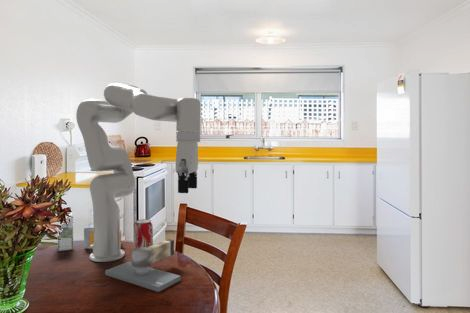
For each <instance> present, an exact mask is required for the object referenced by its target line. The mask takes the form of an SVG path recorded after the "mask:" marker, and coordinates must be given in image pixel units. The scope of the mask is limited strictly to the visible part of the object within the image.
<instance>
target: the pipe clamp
mask: <svg viewBox="0 0 470 313" xmlns="http://www.w3.org/2000/svg"><path fill="white" fill-rule="evenodd" d="M93 243H94V233H90V245H92V244H93ZM120 247H122V230H121V229H120ZM90 250H92V249H91V248H90Z"/></svg>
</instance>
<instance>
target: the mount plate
mask: <svg viewBox="0 0 470 313" xmlns="http://www.w3.org/2000/svg"><path fill="white" fill-rule="evenodd" d="M104 274H105V276H106V277H107V276H108V277H111V278H113V279H116V280H119V281H123V282H126V283H130V284H133V285H136V286H139V287H141V288H144V289H148V290H151V291H154V292H156V293H159V292H161V291H164V290H165V289H167V288H169V287H171V286H173V285H175V284H176V283H179V282H181V281H182V280H181V275H179V274H175V273H172V272H169V271H165V270H161V269H157V268H153V267H151V266H147V267H140V268H139V267H134V266H132V261H126V262H124V263H121V264H119V265H116V266H114V267H111V268H109V269H108V268H107V269H105V271H104Z"/></svg>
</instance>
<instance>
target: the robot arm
mask: <svg viewBox="0 0 470 313" xmlns="http://www.w3.org/2000/svg"><path fill="white" fill-rule="evenodd" d="M103 96H104V99H99V98H98V99H97V98H96V99H95V98H89V99H85V100H83V101H81V102H80V103H79V105H78V106H77V109H76V115H75V116H76V123H77V126H78V128H79V131H80V133H81V136H82V139H83V144H84V148H85V152H86V156H87V158H86V159H87V162H88V165H89V168H90V169H91V170H92V171H94V172H100V173H101V172H109V171H110V172H111V171H113V173H104V174H100V175H98V176H95V177H94V178H92V180H91V181H90V183H89V192H90V196H91V202H92V212H93V214H92V216H93V223H94V243H93V245H90V248H91V249H90V250H92V253H90V255H89V260H90V261H91V262H96V263H97V262H98V263H106V262H113V261H117V260H120V259H122V258H124V256H125V250H124V249H121V246H120V230H121V212H120V211H121V210H120V207H119V204H118V203H117V201H116V199H119V198H122V197H128V196H130V195H132V194H133V193H134V191H135V188H136V180H135V176H134V171H133V166H132V162H131V158H130V155H129V153H128V152H127V150H126V149H125V148H123V147H121V146H112V145H110V144H109V143H110V142H109V139H108V135H107V133H106V131H105V130H104V129H103V127H102V126H101V125H100V124H99V123H111V124H112V123H113V124H115V123H120V122H122V121H124V120H126V118H128V117H129V116H130V115H131V114H134V115H136V116H138V117H142V118H145V119H146V120H147V119H149V120H150V121H151V120H152V121H159V122H175V123H176V125H175V126H176V127H175V128H176V134H175V135H176V136H175V138H176V139H175V140H176V144H177V145H176V152H175V169H174V170H175V173H176V174H177V193H178V194H188V193H189V189H198V168H199V147H198V146H199V145H198V143H200V142H201V101H200V100H199V99H198V98H193V97H181V98H170V97H163V96H156V95H152V94H148V92H147V91H146V90H145V89H142V88H139V87H137V86H135V85H132V84H126V83H120V82H114V83H110V84H108V85H107V86H106V87H105V88H104V91H103Z"/></svg>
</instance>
